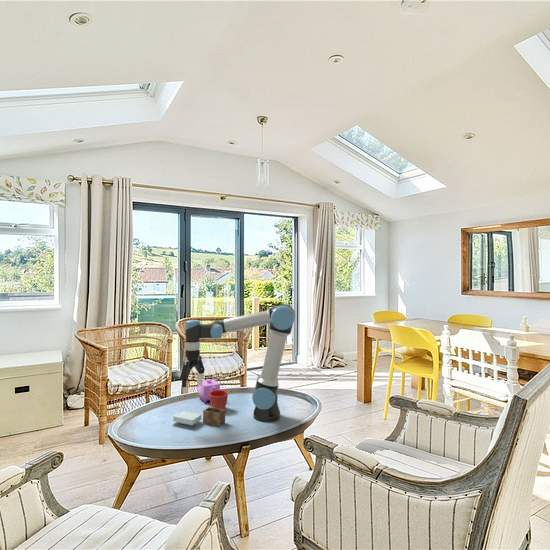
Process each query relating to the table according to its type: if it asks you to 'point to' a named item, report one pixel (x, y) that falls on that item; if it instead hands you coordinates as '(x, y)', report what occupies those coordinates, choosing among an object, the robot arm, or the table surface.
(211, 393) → the flower pot
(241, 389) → the table surface
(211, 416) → the tea box
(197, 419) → the lid
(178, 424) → the plate
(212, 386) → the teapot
